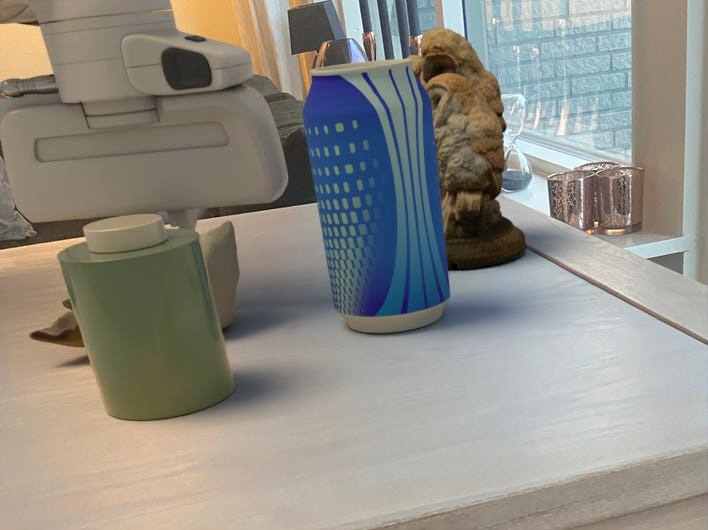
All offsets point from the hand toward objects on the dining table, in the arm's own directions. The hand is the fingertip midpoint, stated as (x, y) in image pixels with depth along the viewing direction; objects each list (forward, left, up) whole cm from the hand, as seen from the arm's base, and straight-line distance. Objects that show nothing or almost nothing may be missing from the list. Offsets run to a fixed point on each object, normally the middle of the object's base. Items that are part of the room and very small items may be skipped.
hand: (173, 273), depth 74 cm
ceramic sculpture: (0, -5, -3) cm, 6 cm away
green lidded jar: (+6, -19, -3) cm, 20 cm away
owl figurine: (+20, +17, -3) cm, 26 cm away
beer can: (+18, -5, -3) cm, 19 cm away
